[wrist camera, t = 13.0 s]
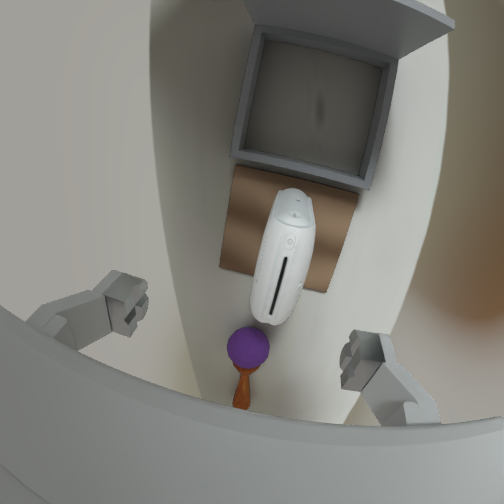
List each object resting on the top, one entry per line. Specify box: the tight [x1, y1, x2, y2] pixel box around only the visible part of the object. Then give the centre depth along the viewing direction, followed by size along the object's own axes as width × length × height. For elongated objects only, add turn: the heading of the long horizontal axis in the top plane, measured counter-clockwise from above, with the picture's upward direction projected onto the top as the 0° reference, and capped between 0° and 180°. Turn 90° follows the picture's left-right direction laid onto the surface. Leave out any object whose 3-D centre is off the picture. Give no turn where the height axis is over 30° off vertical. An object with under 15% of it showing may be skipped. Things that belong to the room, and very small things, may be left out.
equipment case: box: [229, 0, 455, 190], centre depth 20 cm, size 15×15×15 cm
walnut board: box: [219, 165, 359, 292], centre depth 33 cm, size 13×14×1 cm
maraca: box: [227, 327, 270, 410], centre depth 42 cm, size 6×6×20 cm
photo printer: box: [250, 188, 316, 325], centre depth 27 cm, size 10×4×12 cm, turn 170°
